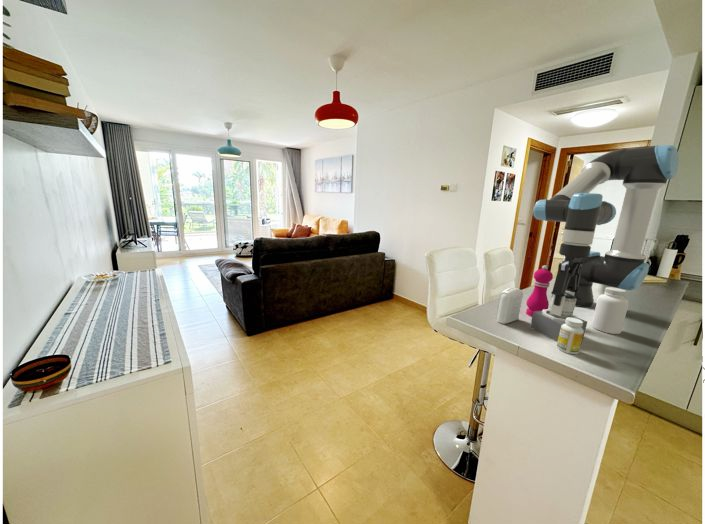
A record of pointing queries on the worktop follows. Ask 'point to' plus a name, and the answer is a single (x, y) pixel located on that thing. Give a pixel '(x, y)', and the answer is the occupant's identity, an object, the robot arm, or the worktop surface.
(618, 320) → the pill bottle
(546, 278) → the pepper mill
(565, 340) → the supplement bottle
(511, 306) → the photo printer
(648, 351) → the worktop surface
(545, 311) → the grey block with ring
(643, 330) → the worktop surface
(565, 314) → the camera lens
